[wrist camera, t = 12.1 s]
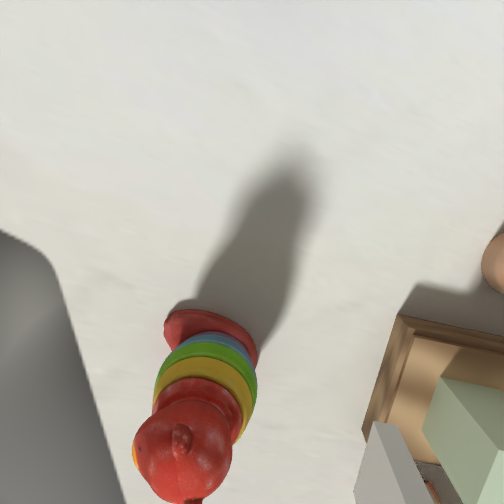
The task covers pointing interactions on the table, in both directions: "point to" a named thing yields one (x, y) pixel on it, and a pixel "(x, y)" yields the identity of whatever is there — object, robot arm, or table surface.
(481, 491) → the sage block
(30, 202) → the table surface
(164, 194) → the table surface
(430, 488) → the cracker box
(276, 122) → the table surface
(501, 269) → the peach rounded cylinder
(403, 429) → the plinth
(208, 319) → the stacking bear
